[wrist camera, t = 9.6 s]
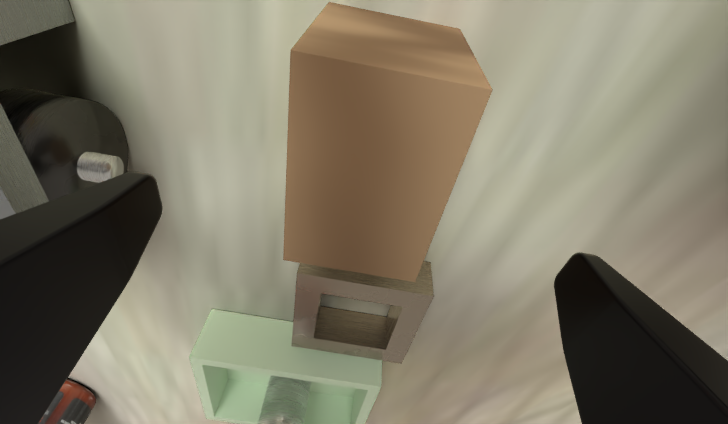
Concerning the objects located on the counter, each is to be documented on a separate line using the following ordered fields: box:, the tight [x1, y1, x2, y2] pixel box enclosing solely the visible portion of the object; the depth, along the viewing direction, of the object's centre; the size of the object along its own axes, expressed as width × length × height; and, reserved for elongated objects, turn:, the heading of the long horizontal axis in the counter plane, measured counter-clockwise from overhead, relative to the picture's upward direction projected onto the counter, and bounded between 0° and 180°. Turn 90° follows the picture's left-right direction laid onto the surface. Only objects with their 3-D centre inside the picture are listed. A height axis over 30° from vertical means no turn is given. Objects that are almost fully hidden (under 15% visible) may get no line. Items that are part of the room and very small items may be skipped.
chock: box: [283, 2, 492, 282], centre depth 11 cm, size 4×6×5 cm, turn 171°
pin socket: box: [291, 261, 434, 363], centre depth 18 cm, size 6×6×2 cm
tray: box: [189, 309, 382, 424], centre depth 23 cm, size 10×8×3 cm
